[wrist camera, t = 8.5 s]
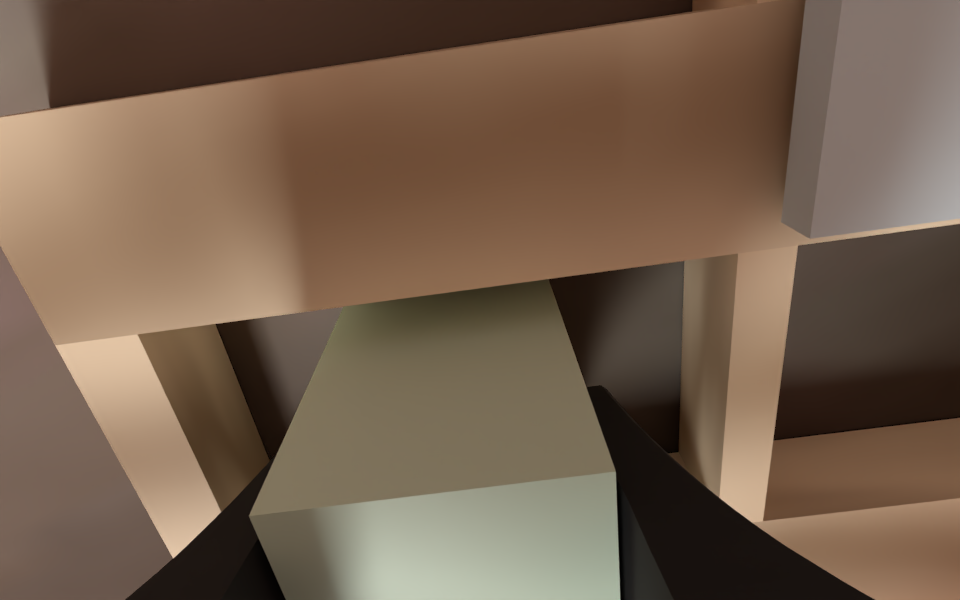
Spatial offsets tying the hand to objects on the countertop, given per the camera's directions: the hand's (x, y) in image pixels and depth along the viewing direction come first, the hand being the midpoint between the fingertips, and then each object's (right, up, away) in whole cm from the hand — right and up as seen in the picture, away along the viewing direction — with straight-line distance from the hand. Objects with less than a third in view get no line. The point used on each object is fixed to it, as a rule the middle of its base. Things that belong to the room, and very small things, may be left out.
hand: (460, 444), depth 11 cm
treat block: (0, +1, +2) cm, 2 cm away
